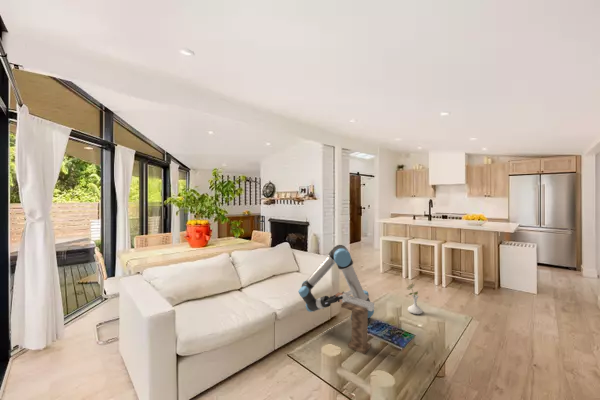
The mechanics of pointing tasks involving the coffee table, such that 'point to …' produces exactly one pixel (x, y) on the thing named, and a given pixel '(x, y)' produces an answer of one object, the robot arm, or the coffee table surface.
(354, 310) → the walnut stand
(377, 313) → the coffee table surface
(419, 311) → the flower in vase
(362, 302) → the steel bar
